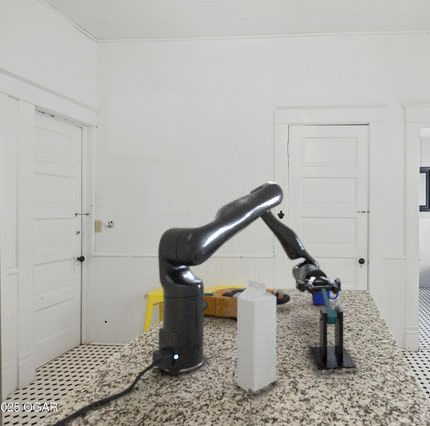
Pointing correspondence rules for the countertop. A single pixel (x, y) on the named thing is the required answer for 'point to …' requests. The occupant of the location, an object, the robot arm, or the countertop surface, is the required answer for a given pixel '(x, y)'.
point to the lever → (327, 304)
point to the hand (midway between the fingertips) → (324, 290)
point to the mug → (321, 298)
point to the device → (232, 301)
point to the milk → (256, 337)
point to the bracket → (333, 354)
